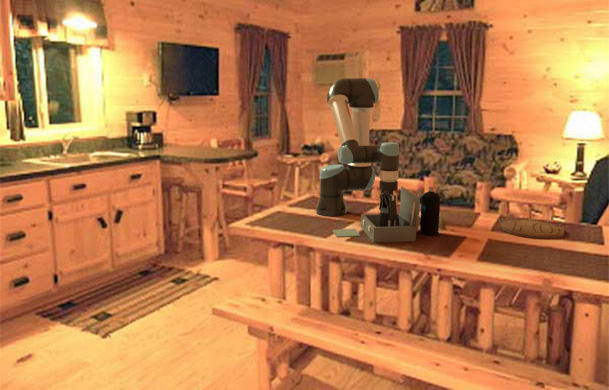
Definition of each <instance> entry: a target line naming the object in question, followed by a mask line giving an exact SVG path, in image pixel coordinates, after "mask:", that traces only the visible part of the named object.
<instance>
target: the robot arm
mask: <svg viewBox="0 0 609 390" xmlns="http://www.w3.org/2000/svg"><path fill="white" fill-rule="evenodd" d="M379 94H380V93H379V88H378V84H377V82H376V81H375V80H374V79H373V78H365V77H361V78H360V77H359V78H353V77H352V78H348V77H345V78H343V77H342V78H340V79H337V80H336V81H334V82H333V83H332V84H331V85H330V87H329V89H328V91H327V94H326V95H327V96H326V102H327V106H328V109H331V113H332V117H333V122H334V124H335V127H336V132H337V135H338V140H339V143H340V146H339V147H338V150H337V156H338V157H337V158H338V161H339V163H341V164H330V165H326V166H323V167H321V168H320V171H319V177H318V178H319V197H318V202H317V204H316V208H315V213H316V214H317V215H320V216H324V217H325V216H328V217H338V216H344V215H346V214H347V213H348V207H347V205H346V202H345V198H344V192H355V191H356V192H358V191H361V192H363V191H369V190H371V189H372V188H373V186H374V184H375V180H376V170H375V168H374V167H373V166H372V164H379V172H378V175H379V179H380V180H379V184H378V185H379V190H380V197H379V198H380V199H379V205H378V206H379V207H378V209H379V211H380V210H381V207H388V214H389V218H388V219H387V220H388V227H394V226H395V220H397V213H398V211H397V195H395V194H394V192H396V191H397V190H398V189H399V181H398V180H399V165H400V164H399V162H400V161H399V160H400V144H399V143H398V142H393V141H392V142H388V141H387V142H381V144H378V143H377V144H371V145H370V127H371V126H370V125H371V124H370V123H371V111H372V110H373V109H374V105H375V104H377V103H378V102H379V97H380V95H379ZM350 110H351V112H350ZM344 165H347V167H345V166H344Z"/></svg>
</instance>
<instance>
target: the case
mask: <svg viewBox="0 0 609 390" xmlns="http://www.w3.org/2000/svg"><path fill="white" fill-rule="evenodd" d="M420 199H421V196H419V195H417V193H416V194H415V193H414V192H413V191H410V190H409V189H408V188H406V187H405V186H400V202H399V203H400V204H399V206H400V207H399V212H397V220H395V226H394V227H379V225H380V224H379V223H380V213H362V214H361V215H360V229H361V230H362V231H364V233H365V234H366V235H367V237H368V238H369V239H370V240H371V241H372V243H375V244H376V243H396V242H397V243H399V242H416V240H417V232H419V229H420V207H421V203H420V202H421V200H420Z"/></svg>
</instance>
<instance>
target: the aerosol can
mask: <svg viewBox="0 0 609 390" xmlns="http://www.w3.org/2000/svg"><path fill="white" fill-rule="evenodd" d="M434 188H435V187H434V186H430V185H429V187H428V191H426V192H423V194H421V195H420V199H421V200H420V202H421V203H420V218H419V230H418V233H419V234H421V235H422V236H430V237H431V236H432V237H433V236H434V237H435V236H437V235H440V229H439V228H440V213H441V212H440V211H441V198H442V196H440V194H439V193H438V192H435V191H434Z"/></svg>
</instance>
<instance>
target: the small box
mask: <svg viewBox="0 0 609 390" xmlns="http://www.w3.org/2000/svg"><path fill="white" fill-rule="evenodd" d="M379 214H380V223H379V224H380V225H379V227H388V220H387V219H388V218H389V214H388V207H381V210H379Z"/></svg>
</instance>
